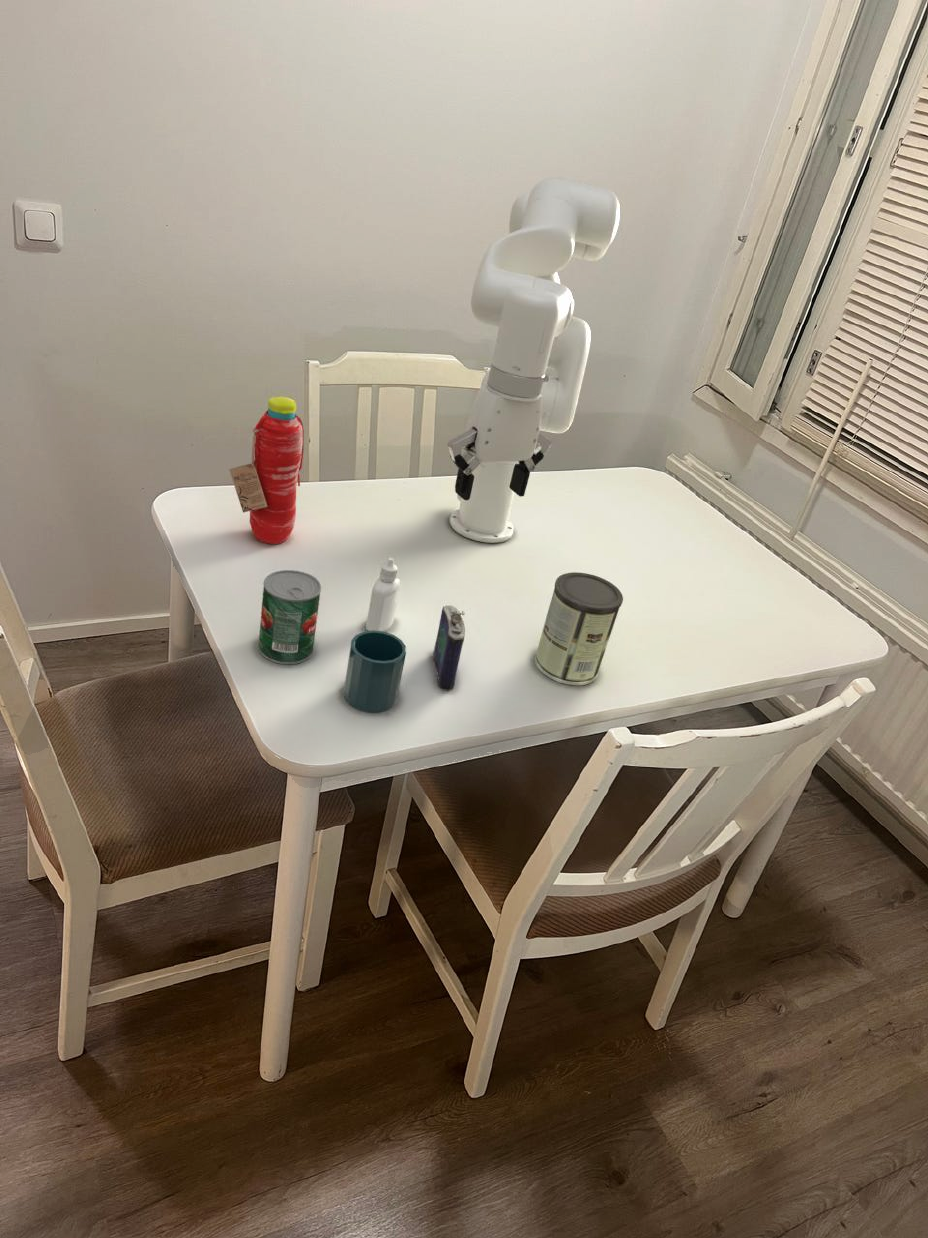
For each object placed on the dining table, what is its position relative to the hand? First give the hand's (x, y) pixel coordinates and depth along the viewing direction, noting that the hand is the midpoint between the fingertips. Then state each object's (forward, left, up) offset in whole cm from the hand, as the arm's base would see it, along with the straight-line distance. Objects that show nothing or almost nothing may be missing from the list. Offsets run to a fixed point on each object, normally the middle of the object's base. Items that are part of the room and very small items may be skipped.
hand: (489, 494), depth 132 cm
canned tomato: (+1, -29, -23) cm, 38 cm away
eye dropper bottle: (-2, -13, -23) cm, 27 cm away
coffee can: (+14, +12, -23) cm, 30 cm away
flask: (+11, -9, -23) cm, 27 cm away
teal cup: (+14, -21, -23) cm, 35 cm away
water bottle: (-31, -23, -23) cm, 45 cm away
